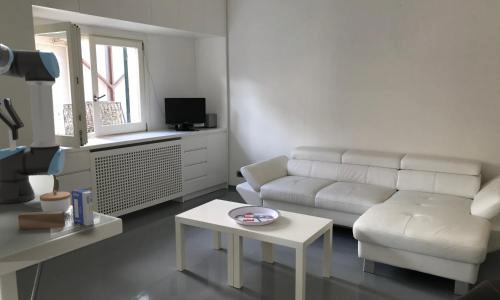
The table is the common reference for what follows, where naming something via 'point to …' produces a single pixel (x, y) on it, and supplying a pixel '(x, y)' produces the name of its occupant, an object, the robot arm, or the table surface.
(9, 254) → the table surface
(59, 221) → the bar
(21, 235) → the table surface
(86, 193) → the walkman
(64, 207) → the lidded jar
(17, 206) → the table surface
